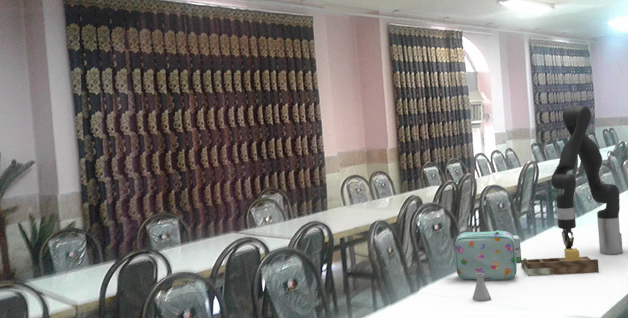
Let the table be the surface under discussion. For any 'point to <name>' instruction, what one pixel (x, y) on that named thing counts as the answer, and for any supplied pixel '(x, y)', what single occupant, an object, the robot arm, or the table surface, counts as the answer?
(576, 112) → the robot arm
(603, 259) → the table surface
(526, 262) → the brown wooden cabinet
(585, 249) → the table surface
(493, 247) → the lunch box
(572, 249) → the block
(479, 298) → the flask
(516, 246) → the ink box
